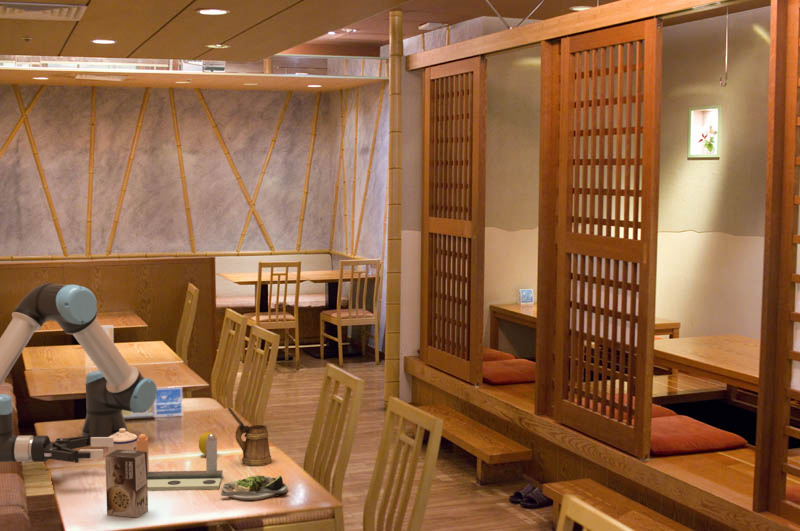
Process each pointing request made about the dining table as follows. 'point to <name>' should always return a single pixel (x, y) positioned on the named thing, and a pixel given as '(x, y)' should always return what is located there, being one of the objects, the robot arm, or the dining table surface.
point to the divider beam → (208, 474)
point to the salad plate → (254, 488)
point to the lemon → (203, 442)
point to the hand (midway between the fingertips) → (108, 447)
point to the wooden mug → (253, 443)
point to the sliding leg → (143, 446)
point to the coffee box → (126, 483)
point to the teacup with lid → (123, 441)
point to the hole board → (183, 484)
